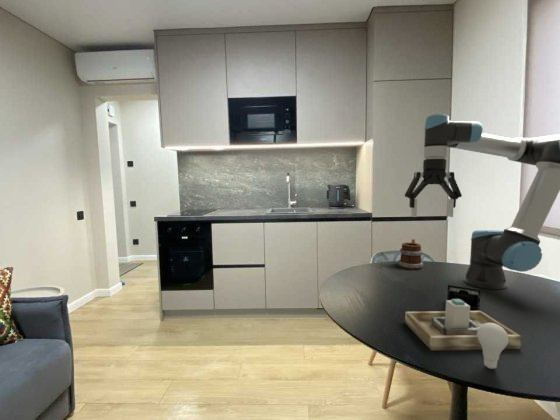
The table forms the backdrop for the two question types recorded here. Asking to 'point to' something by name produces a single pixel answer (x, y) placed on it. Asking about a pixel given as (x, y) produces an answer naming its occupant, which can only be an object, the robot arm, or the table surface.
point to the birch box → (437, 341)
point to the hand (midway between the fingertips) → (431, 216)
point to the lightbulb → (492, 342)
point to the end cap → (465, 295)
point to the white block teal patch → (457, 314)
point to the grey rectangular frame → (440, 322)
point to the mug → (411, 256)
